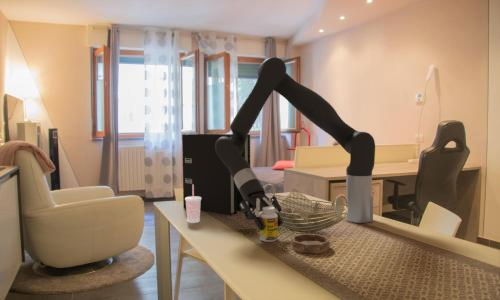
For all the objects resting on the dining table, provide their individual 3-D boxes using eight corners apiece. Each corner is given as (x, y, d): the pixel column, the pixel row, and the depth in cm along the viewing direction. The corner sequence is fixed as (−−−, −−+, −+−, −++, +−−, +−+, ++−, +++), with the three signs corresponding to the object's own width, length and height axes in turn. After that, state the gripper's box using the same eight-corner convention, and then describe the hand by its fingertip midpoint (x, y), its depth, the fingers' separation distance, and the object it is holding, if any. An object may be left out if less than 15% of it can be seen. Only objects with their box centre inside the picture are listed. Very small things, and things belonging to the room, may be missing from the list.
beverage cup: (197, 218, 150) (196, 182, 150) (204, 221, 145) (204, 184, 144) (182, 220, 147) (182, 184, 146) (189, 224, 142) (188, 186, 141)
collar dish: (325, 242, 119) (325, 233, 119) (331, 254, 108) (331, 244, 108) (290, 242, 119) (290, 233, 119) (293, 254, 109) (293, 244, 109)
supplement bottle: (266, 243, 118) (266, 210, 118) (256, 239, 123) (256, 207, 122) (281, 240, 122) (281, 208, 121) (270, 236, 126) (270, 205, 125)
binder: (251, 210, 165) (251, 134, 163) (228, 216, 153) (227, 135, 151) (206, 202, 182) (205, 133, 180) (182, 207, 170) (180, 134, 168)
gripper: (235, 180, 123) (259, 224, 114) (270, 176, 131) (294, 216, 123) (226, 194, 127) (248, 238, 119) (260, 189, 136) (283, 229, 127)
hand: (272, 227), depth 121 cm, fingers open, 6 cm apart
